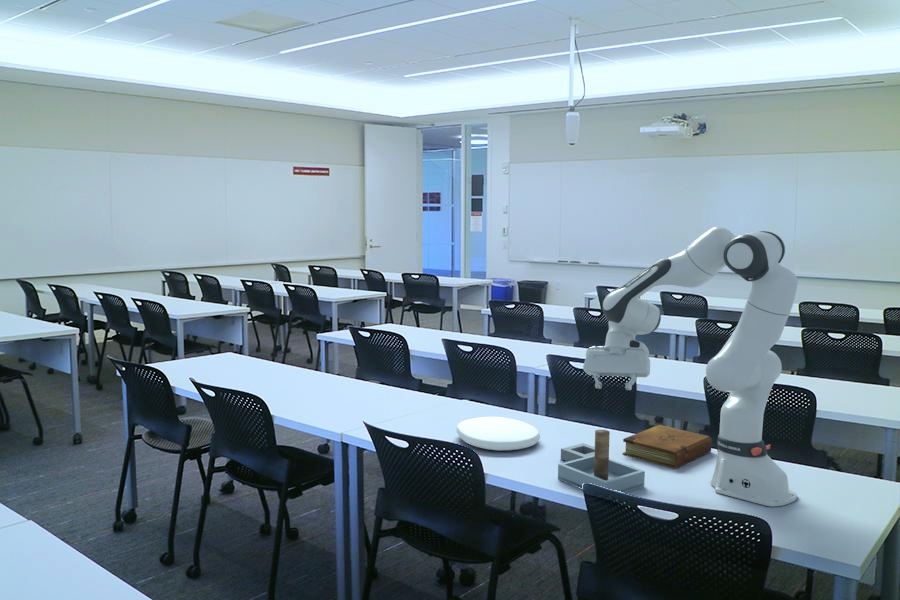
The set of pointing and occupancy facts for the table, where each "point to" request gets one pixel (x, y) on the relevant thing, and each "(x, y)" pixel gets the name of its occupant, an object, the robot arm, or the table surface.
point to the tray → (583, 472)
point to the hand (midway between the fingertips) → (612, 388)
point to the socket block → (577, 452)
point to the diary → (667, 446)
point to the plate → (497, 433)
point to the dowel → (601, 454)
